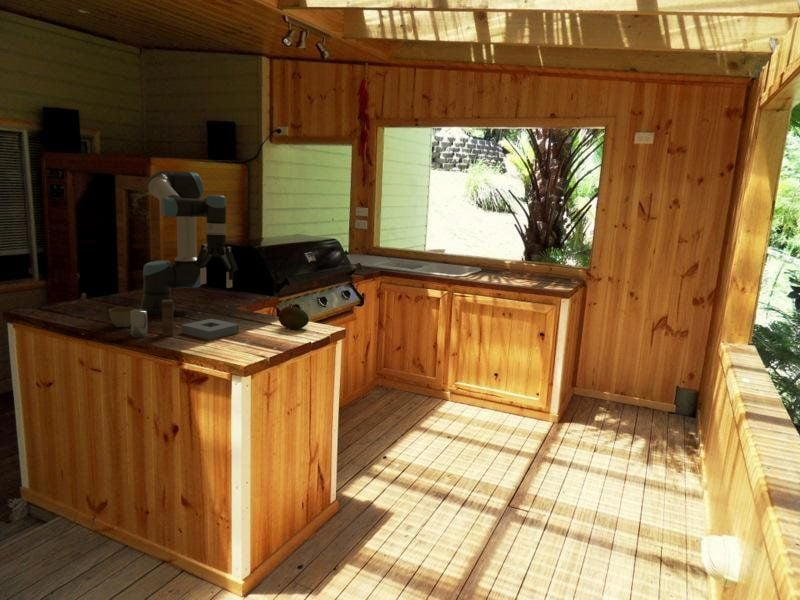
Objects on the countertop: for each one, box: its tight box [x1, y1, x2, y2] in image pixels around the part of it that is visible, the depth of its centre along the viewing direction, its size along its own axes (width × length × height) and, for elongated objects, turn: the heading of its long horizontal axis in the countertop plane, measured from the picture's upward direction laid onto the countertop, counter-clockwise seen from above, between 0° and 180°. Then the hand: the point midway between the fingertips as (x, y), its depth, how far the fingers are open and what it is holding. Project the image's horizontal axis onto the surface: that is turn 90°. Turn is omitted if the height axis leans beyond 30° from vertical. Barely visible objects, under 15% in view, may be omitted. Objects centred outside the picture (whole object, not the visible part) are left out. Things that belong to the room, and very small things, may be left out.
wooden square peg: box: [161, 299, 175, 337], centre depth 241 cm, size 4×4×14 cm
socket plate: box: [180, 318, 240, 341], centre depth 249 cm, size 16×16×4 cm
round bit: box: [130, 308, 149, 338], centre depth 238 cm, size 6×6×10 cm
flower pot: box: [108, 306, 136, 328], centre depth 251 cm, size 10×10×7 cm
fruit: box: [277, 306, 310, 330], centre depth 264 cm, size 12×12×10 cm
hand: (216, 285), depth 247 cm, fingers open, 13 cm apart
